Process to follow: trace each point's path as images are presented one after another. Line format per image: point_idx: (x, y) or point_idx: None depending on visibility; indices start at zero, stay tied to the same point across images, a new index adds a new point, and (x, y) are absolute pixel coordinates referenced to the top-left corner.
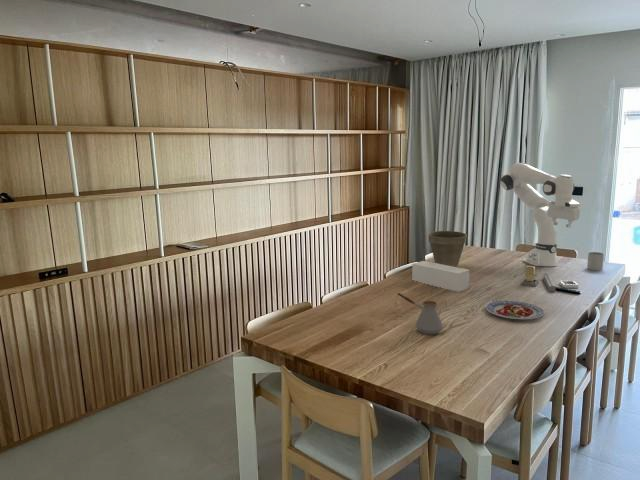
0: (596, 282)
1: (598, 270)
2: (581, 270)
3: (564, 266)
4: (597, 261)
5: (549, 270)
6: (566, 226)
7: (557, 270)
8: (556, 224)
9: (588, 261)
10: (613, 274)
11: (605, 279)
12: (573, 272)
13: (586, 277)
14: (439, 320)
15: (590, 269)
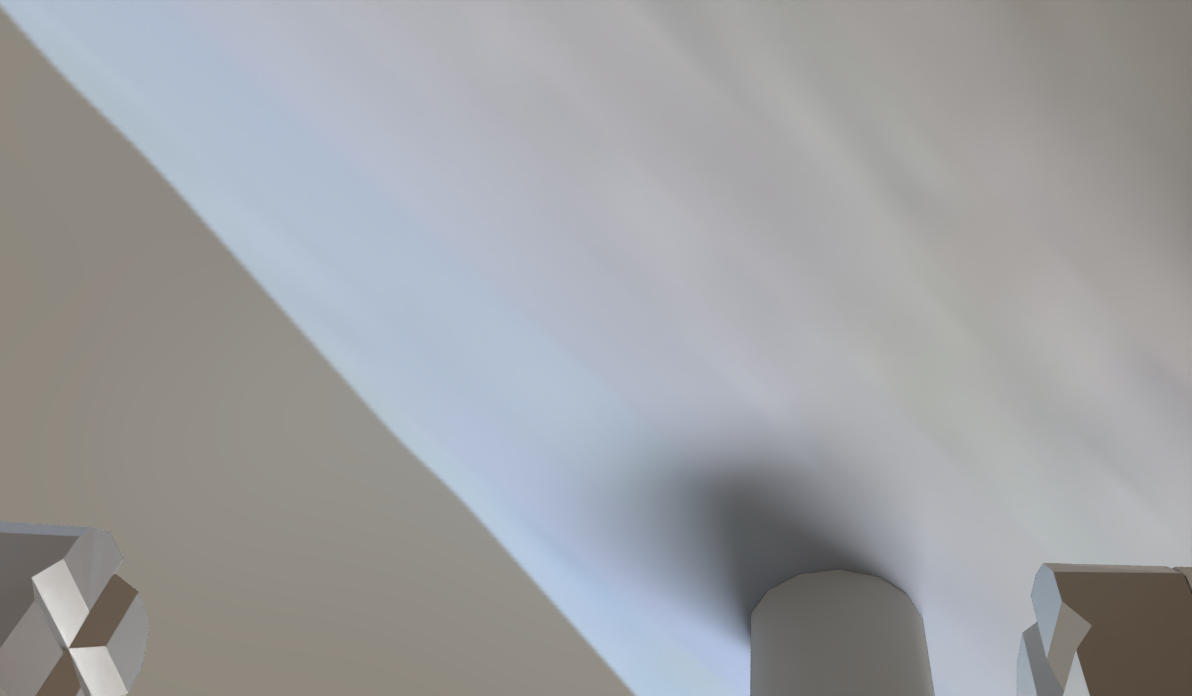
0: (277, 169)
1: (756, 607)
2: (859, 468)
3: (1155, 455)
4: (765, 692)
5: (1140, 86)
6: (56, 541)
7: (1055, 202)
8: (1047, 668)
9: (885, 659)
10: (546, 594)
11: (382, 372)
12: (832, 310)
13: (539, 254)
14: None
15: (830, 573)
